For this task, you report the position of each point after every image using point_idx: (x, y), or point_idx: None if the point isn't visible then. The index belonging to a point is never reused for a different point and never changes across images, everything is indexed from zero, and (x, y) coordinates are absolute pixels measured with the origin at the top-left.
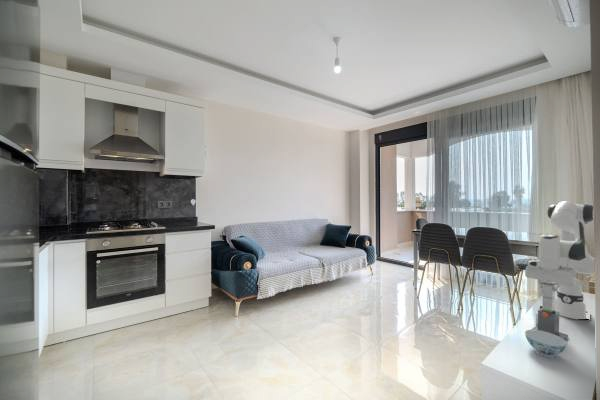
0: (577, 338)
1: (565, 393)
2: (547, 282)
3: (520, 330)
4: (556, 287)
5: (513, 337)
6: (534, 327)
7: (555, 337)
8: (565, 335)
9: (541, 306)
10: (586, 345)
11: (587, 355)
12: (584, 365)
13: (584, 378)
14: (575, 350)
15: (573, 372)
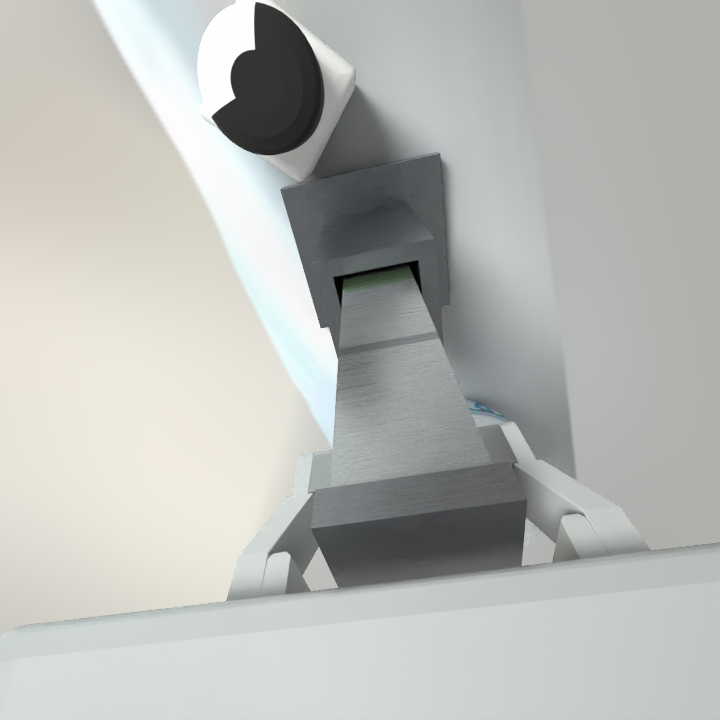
0: (469, 95)
1: (539, 532)
2: (398, 569)
3: (284, 322)
4: (536, 520)
5: (324, 410)
6: (299, 250)
7: (473, 411)
8: (434, 184)
9: (231, 129)
10: (525, 165)
11: (546, 293)
12: (550, 385)
13: (560, 454)
14: (503, 292)
15: (534, 450)
